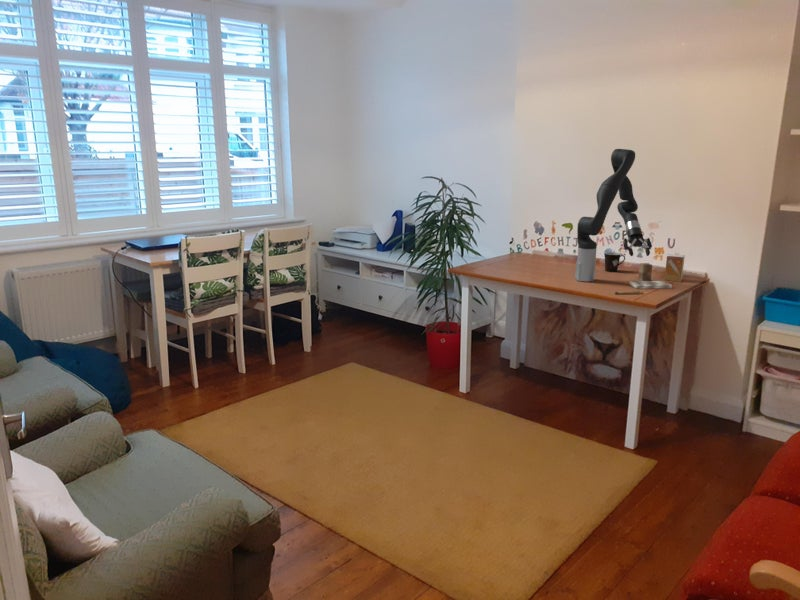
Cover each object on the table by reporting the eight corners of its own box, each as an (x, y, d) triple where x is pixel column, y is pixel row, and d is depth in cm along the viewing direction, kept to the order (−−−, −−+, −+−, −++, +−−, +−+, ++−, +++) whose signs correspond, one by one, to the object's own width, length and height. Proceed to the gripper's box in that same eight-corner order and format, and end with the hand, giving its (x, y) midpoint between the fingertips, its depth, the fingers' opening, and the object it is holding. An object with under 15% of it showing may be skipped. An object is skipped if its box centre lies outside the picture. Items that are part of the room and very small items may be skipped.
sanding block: (642, 282, 322) (643, 265, 320) (638, 280, 327) (639, 263, 325) (650, 282, 322) (652, 265, 320) (646, 279, 327) (648, 263, 325)
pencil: (614, 294, 298) (615, 294, 297) (614, 291, 298) (615, 291, 297) (641, 293, 298) (642, 293, 297) (641, 291, 299) (642, 291, 297)
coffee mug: (603, 272, 347) (605, 254, 345) (602, 269, 355) (603, 251, 353) (625, 273, 345) (627, 255, 342) (624, 269, 353) (625, 252, 350)
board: (636, 288, 308) (636, 285, 308) (628, 284, 318) (628, 281, 318) (672, 288, 308) (672, 285, 308) (663, 283, 318) (663, 280, 318)
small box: (664, 280, 326) (666, 255, 323) (665, 277, 332) (668, 253, 328) (680, 281, 322) (683, 257, 319) (682, 279, 328) (684, 255, 324)
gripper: (622, 226, 335) (629, 251, 327) (649, 226, 335) (656, 251, 327) (618, 235, 341) (624, 259, 333) (644, 234, 341) (651, 259, 333)
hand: (640, 255), depth 330 cm, fingers open, 8 cm apart
